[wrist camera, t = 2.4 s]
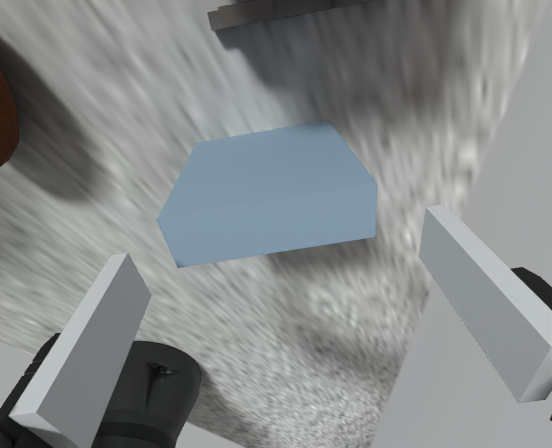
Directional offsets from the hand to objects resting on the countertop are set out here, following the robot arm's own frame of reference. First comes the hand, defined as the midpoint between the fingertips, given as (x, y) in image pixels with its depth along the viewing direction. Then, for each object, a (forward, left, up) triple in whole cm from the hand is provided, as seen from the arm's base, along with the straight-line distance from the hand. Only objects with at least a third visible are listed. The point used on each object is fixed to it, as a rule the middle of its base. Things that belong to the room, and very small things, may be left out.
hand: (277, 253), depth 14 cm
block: (0, 0, -14) cm, 14 cm away
